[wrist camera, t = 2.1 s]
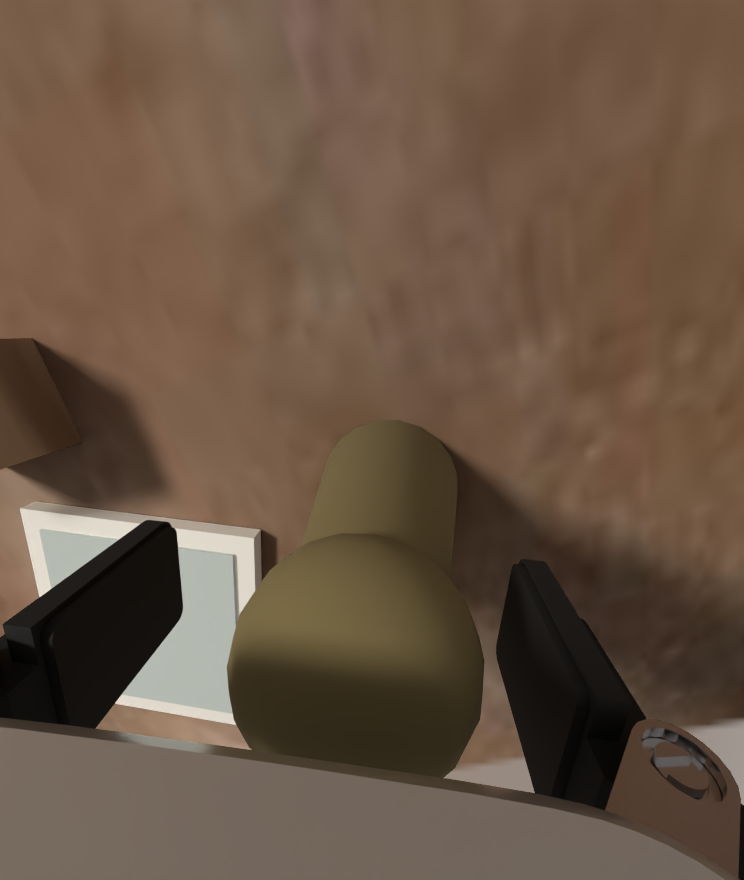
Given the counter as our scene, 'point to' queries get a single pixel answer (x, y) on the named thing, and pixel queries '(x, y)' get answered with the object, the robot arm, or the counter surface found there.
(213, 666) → the plate
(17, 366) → the walnut block
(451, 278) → the counter surface
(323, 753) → the olive rounded tall piece
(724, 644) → the counter surface
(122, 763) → the robot arm
